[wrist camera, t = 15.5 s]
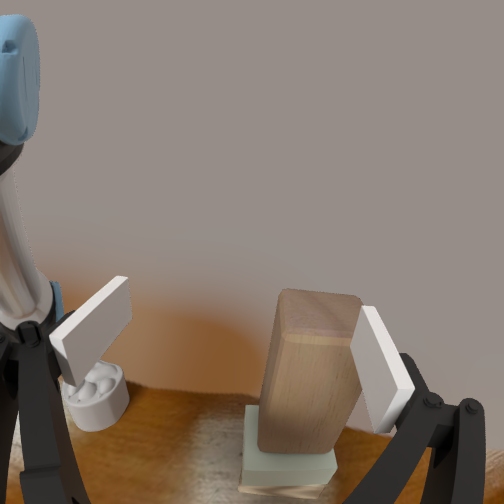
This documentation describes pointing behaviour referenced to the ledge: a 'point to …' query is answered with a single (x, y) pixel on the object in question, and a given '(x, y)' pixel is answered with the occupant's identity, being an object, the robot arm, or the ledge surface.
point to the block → (309, 373)
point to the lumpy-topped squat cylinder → (98, 397)
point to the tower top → (280, 461)
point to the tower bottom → (283, 490)
